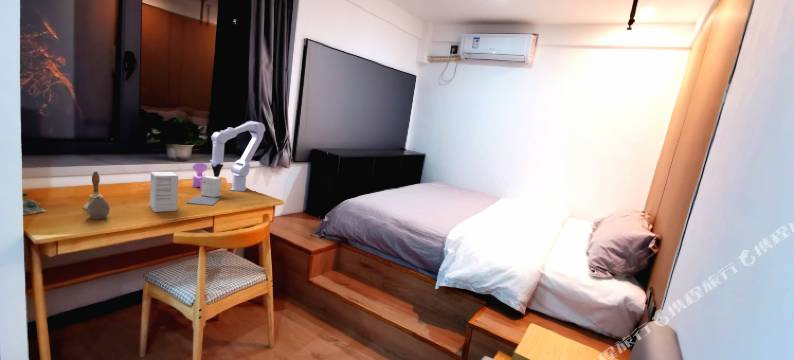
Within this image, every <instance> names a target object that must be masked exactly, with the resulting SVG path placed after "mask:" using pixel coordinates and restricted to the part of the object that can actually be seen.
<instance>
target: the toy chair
mask: <svg viewBox="0 0 794 360" xmlns="http://www.w3.org/2000/svg"><path fill="white" fill-rule="evenodd" d="M207 169H208V166H207V164H205V163H203V162H196V163H195V164H193V166H192V170H193V171H195V172H196V175H192V176H193V177H192V181H193V183H192V184H191V186H190V187H191V188H197V187H199V189H198V191H201V189H202V179H203V177H204V176H206V175H205V174H203V173H204V172H205V171H207Z"/></svg>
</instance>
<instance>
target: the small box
mask: <svg viewBox="0 0 794 360" xmlns="http://www.w3.org/2000/svg"><path fill="white" fill-rule="evenodd" d="M222 179H223V178H222V177H214V176H211V175H205V176H204V177H203V179H202V189H201V190H200V191H201V192H200V196H203V197H214V198H219V197H220V196H221V189H222Z"/></svg>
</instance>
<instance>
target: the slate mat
mask: <svg viewBox="0 0 794 360" xmlns="http://www.w3.org/2000/svg"><path fill="white" fill-rule="evenodd" d="M220 200H221V198H220V197H209V196H203V195H195V196H194V197H193V198H191V199H189V200H188V201H187V202H186V204H190V205H201V206H214V205H215V204H216V203H218V202H219V201H220Z"/></svg>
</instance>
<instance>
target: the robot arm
mask: <svg viewBox="0 0 794 360" xmlns="http://www.w3.org/2000/svg"><path fill="white" fill-rule="evenodd" d="M246 131H248V132H249V133H250V135H251V140H250V141H249V143H248V145H247V147H246V148H245V150H244V151H243V154H241V157H240V159H237V160H236V161H235V163H233V164H232V165H231V167H230V171H231V173H232V185H231V186H232V187H231V188H230V189H229V190H230V191H237V192H245V191H246V190H247V189H248V187H246V186H247V185H246V183H247V176H248V175H249V173H250V169H251V164H250V162H251V161H252V159H253V157H254V155H255V153H256V151H257V150H258V147H259V146H260V143H261V142H262V140H263V137H264V133H265V131H266V126H265V124H264V123H262V122H258V121H253V120H248V121H246V122H245V123H242V124H241V125H239V126H236V127H234V128H233V127H227V128H226V129H224V130H222V129H221V130H220V131H214V132H213V134H212V135H211V136H210V138H211V141H212V153H211V156H212V157H211V159H210V160H209V162H210V163H211V164H210V167H211V169H212V172H213V177H218V178H220V177H219V176H220V174H221V170H222V168H223V167H224V155H225V143H227V141H229V140H231V139H233V138H236V137H237V135H239V134H240V133H243V132H246Z"/></svg>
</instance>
